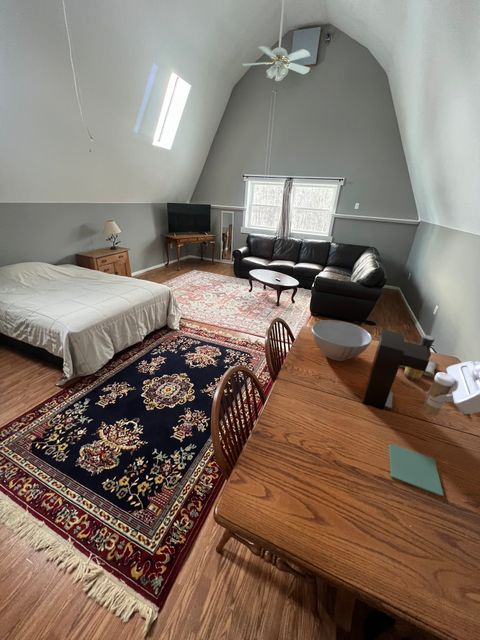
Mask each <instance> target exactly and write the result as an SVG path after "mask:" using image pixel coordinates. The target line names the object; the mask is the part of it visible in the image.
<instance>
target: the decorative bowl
mask: <svg viewBox="0 0 480 640" xmlns="http://www.w3.org/2000/svg"><path fill="white" fill-rule="evenodd" d="M311 335H312V338H313V341H314V343H315V345H316V347H317V348H318V349H319V350H320V351H321V352H322V353H323V355H324V356H325V357H327V358H328V359H330V360H334V361H339V362H343V361H347V359H348V360H349V359H352V358H356V357H358V356H359V355H361V354H362V353H364V352H365V351H366V350H367V349H368V347H369V346H370V345H371V344H372V341H373V337H372V335H371V333H370V332H368V331H367V330H366V329H364V328H363V327H361V326H359V325H357V324H355V323H351V322H347V321H342V320H334V319H327V320H326V319H325V320H319V321H317V322H315V323H314V324H312V326H311Z"/></svg>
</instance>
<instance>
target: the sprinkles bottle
mask: <svg viewBox="0 0 480 640" xmlns="http://www.w3.org/2000/svg"><path fill="white" fill-rule="evenodd" d="M433 378H434V379H433V382H432V384H431V386H430V388H429V390H428V392H427V394H426V397H425V398H424V403H423V405H422V406H421V410H422V411H423V412H424V413H425V414H427V415H428V416H430V417H431V416H432V417H437V416H439V414H440V411H441V409H442V407H443V406H444V404H445V402H446V401H444V402H437V400H436V399H435V395H438V394H440V393H441V394H442V395H448V393H450V391H451V386H452V385H453V384H454V382H455V379H454V377H452V376H451V375H449V374H447V372H443V371H439V372H437V373H436V374H434V377H433Z"/></svg>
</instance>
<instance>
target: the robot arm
mask: <svg viewBox="0 0 480 640" xmlns="http://www.w3.org/2000/svg"><path fill="white" fill-rule="evenodd" d="M445 369H446V373H447V374H449V375H451V376H452V377H454V379H455V382H454V384H453V385H452V386H451V388H450V391H451V392H449V393H448V395H442V394H441V393H440V394H438V395H435V399H436V400H437V402H444V401H445V402H446V403H454V405H455V407H456V408H457V409H458V411H459V412H460V413H461V414H463V415H472V414H477V413H480V361H477V360H475V361H472V360H469V361H468V360H467V361H464V362H458V363H455V364H451V365H449V366H448V367H446V368H445ZM445 402H444V403H445Z"/></svg>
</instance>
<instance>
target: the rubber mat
mask: <svg viewBox="0 0 480 640" xmlns="http://www.w3.org/2000/svg"><path fill="white" fill-rule="evenodd" d="M388 453H389V467H390V468H389V469H390V477H391V478H392V479H394V480H397V481H399V482H402V483H405V484H408V485H410V486H413V487H416V488H418V489H420V490H423V491H426V492H428V493H431V494H434V495H436V496H439V497H442V498H444V492H443V488H442V484H441V479H440V475H439V471H438V467H437V463H436V459H435V458H434V457H432V456H428V455H425V454H422V453H420V452H416V451H414V450H411V449H408V448H404V447H402V446H400V445H399V446H398V445H396V444H393V443H388Z"/></svg>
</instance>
